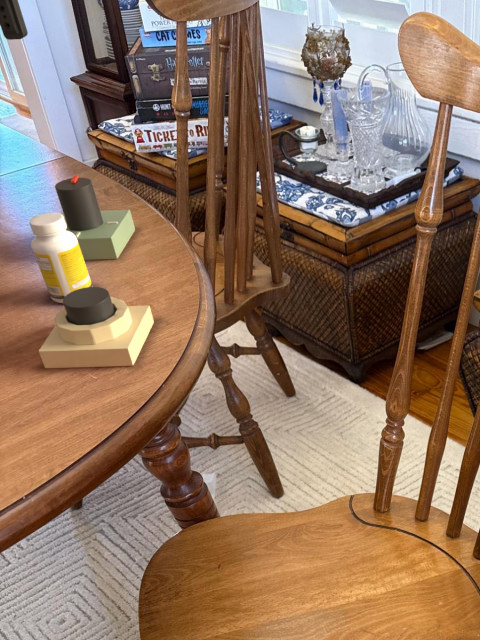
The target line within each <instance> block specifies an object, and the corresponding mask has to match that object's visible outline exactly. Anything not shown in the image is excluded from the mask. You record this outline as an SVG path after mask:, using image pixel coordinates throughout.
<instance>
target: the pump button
mask: <svg viewBox="0 0 480 640" xmlns="http://www.w3.org/2000/svg"><path fill="white" fill-rule="evenodd" d="M110 297H111V296H110V293H109V290H108V289H106V288H104V287H100V286H93V287H87V288H82V289H78V290H75V291H73V292H71V293H69V294H68V295H66V296H65V297H64V299H63V303H62V304H63V308H64V307H65V309H66V312H67V315H68V318H69V321H70V322H71V323H72V324H75V325H92V324H96V323H100V322H103V321H105V320H107V319H109V318H110V317H112V316H114V314H115V311H114V308H113V304H112V301H111V298H110Z"/></svg>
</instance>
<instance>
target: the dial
mask: <svg viewBox="0 0 480 640" xmlns="http://www.w3.org/2000/svg"><path fill="white" fill-rule="evenodd" d="M54 189H55V192H56V195H57V198H58V200H59V204H60V207H61V210H62V212H63V213H64V216H65V219H66V222H67V225H68V228H69V229H71V230H76V231H83V230H89V229H93V228H96V227H98V226H100V225H101V224H102V223H103V219H102V216H101V212H100V211H101V209H100V206H99V203H98V199H97V196H96V192H95V188H94V186H93V182H92V180H91V179H90V178H87V177H79V175H77V174H76V175H73V176H72V177H71V178H66V179H63V180H61V181H58V182H57V183H56V184H54Z"/></svg>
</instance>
